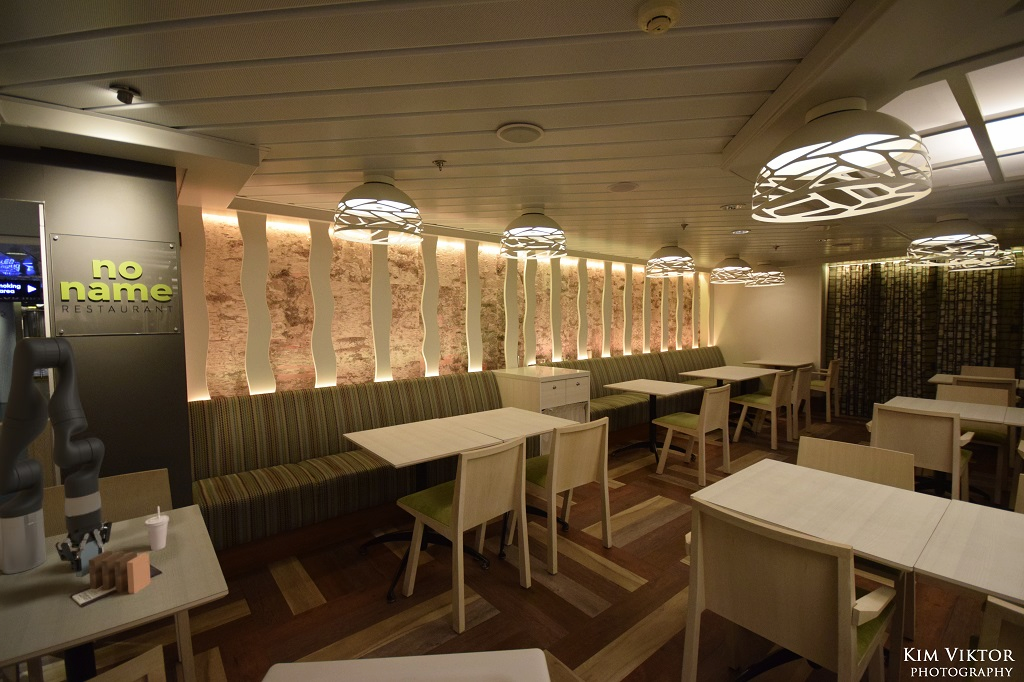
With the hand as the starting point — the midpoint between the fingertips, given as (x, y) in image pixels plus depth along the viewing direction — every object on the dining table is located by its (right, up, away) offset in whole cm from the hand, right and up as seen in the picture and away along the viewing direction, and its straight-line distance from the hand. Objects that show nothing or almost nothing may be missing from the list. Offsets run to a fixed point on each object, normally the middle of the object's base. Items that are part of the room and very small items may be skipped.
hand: (87, 565), depth 129 cm
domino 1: (0, -2, 0) cm, 2 cm away
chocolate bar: (+9, -6, +1) cm, 11 cm away
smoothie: (+4, -5, +21) cm, 22 cm away
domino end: (+16, -6, -1) cm, 17 cm away
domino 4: (+12, -6, -1) cm, 14 cm away
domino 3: (+8, -6, 0) cm, 10 cm away
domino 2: (+4, -6, 0) cm, 7 cm away
